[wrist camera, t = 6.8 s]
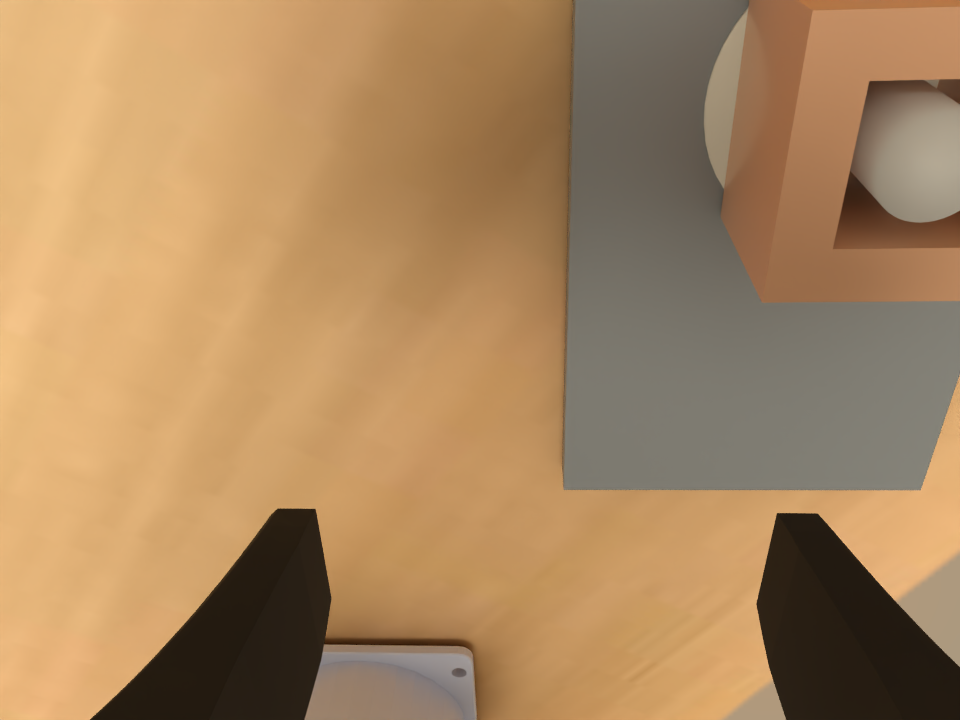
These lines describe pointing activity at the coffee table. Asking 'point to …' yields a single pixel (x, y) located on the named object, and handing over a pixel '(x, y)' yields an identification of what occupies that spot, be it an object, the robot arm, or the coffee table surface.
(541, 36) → the coffee table surface
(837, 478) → the post board
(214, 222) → the coffee table surface
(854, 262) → the tan square tube block
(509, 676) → the coffee table surface
